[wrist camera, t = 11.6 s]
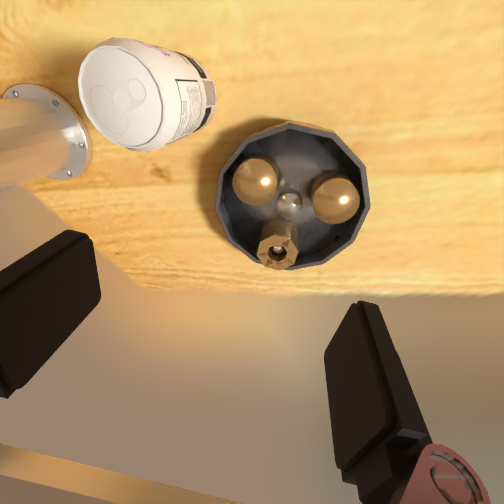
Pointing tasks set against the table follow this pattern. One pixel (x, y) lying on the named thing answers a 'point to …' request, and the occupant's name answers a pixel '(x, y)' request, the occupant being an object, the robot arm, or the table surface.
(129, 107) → the supplement can
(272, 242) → the tan hollow faceted cylinder
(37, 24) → the table surface
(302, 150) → the tray
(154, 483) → the robot arm
